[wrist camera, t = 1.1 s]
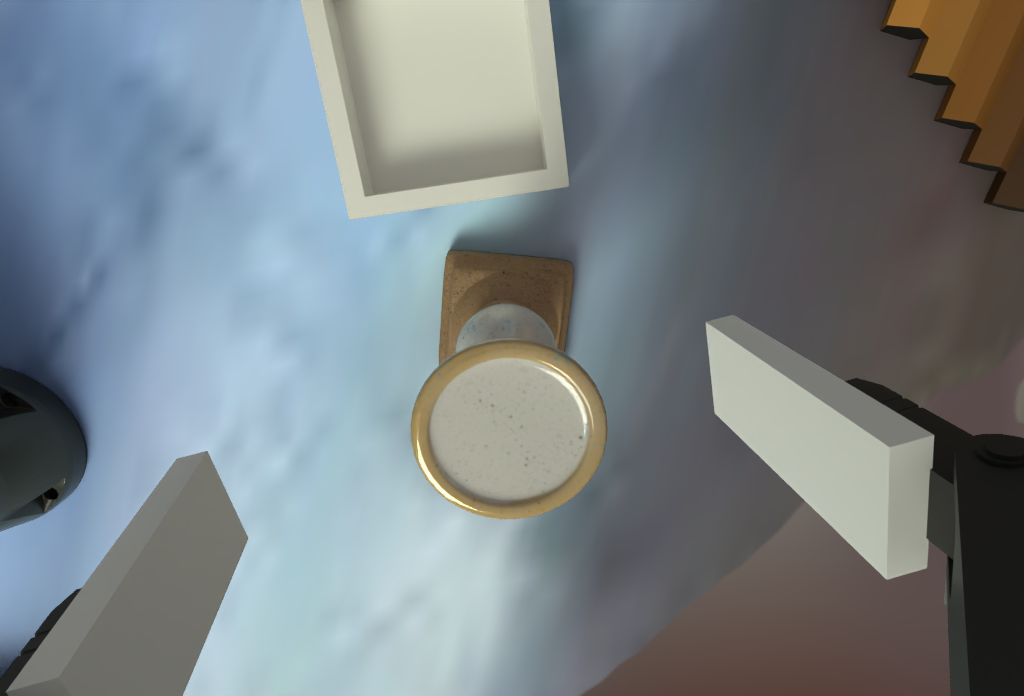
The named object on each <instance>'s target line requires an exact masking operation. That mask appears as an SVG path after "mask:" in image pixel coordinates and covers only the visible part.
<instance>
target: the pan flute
mask: <svg viewBox="0 0 1024 696" xmlns="http://www.w3.org/2000/svg"><path fill="white" fill-rule="evenodd" d="M880 31H882V32H886V33H889V34H892V35H896V36H899V37H902V38H906V39H909V40H912V39H922V38H923V41H922V43H921V46H920V48H919V50H918V53H917V55H916V58H915V60H914V63H913V65H912V68H911V70H910V72H909V75H908V77H910V78H914V79H917V80H921V81H924V82H928V83H931V84H934V85H949V87H948V89H947V92H946V94H945V96H944V99H943V101H942V103H941V106H940V108H939V110H938V113H937V115H936V117H935V119H934V121H937V122H941V123H944V124H948V125H951V126H955V127H958V128H962V129H974V131H973V133H972V135H971V138H970V140H969V142H968V144H967V146H966V149H965V151H964V153H963V155H962V157H961V160H960V162H959V163H963V164H966V165H970V166H973V167H977V168H981V169H984V170H990V171H998V173H997V175H996V177H995V179H994V181H993V183H992V186H991V188H990V190H989V192H988V194H987V196H986V198H985V200H984V202H983V203H986V204H990V205H993V206H997V207H1001V208H1004V209H1008V210H1013V211H1020V212H1024V0H892V2H891V4H890V7H889V10H888V12H887V15H886V17H885V20H884V22H883V25H882V28H881V30H880Z"/></svg>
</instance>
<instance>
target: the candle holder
mask: <svg viewBox="0 0 1024 696" xmlns="http://www.w3.org/2000/svg"><path fill="white" fill-rule="evenodd" d="M573 273H574V269H573V265H572V263H571V262H569V261H566V260H559V259H553V258H543V257H532V256H521V255H510V254H499V253H489V252H478V251H464V250H451V251H449V252H448V254H447V257H446V262H445V270H444V281H443V297H442V313H441V329H440V345H439V366H438V367H437V368H436V369H435V370H434V371H433V372H432V373H431V375H430V376H429V377H428V379H427V380H426V381H425V383H424V384H423V386H422V388H421V390H420V392H419V394H418V396H417V399H416V402H415V405H414V408H413V411H412V419H411V443H412V447H413V452H414V456H415V458H416V461H417V463H418V466H419V468H420V470H421V471H422V473H423V475H424V476H425V478H426V480H427V481H428V482H429V483H430V484H431V485H432V487H433V488H434V489H435V490H436V491H437V492H438V493H439V494H441V495H442V496H443V497H444V498H445V499H446V500H448V501H449V502H451V503H453V504H454V505H456V506H457V507H459V508H461V509H464V510H466V511H468V512H470V513H473V514H477V515H480V516H484V517H489V518H496V519H520V518H528V517H532V516H536V515H540V514H543V513H546V512H548V511H550V510H553V509H555V508H557V507H559V506H561V505H562V504H564V503H565V502H567V501H569V500H570V499H571V498H573V497H574V496H575V495H576V494H577V493H579V492H580V491H581V490H582V489H583V488H584V486H585V485H586V484H587V483H588V482H589V481H590V479H591V478H592V476H593V475H594V473H595V472H596V470H597V469H598V466H599V464H600V462H601V459H602V457H603V454H604V450H605V446H606V442H607V429H608V428H607V418H606V411H605V407H604V404H603V400H602V397H601V395H600V393H599V391H598V389H597V387H596V385H595V383H594V382H593V380H592V379H591V378H590V376H589V375H588V373H587V372H586V371H585V370H584V369H583V368H582V367H581V366H580V365H579V364H578V363H577V362H576V361H575V360H573V359H572V358H571V357H569V356H568V355H566V354H565V353H564V350H565V342H566V334H567V327H568V319H569V311H570V303H571V296H572V288H573Z"/></svg>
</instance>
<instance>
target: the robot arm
mask: <svg viewBox="0 0 1024 696" xmlns="http://www.w3.org/2000/svg"><path fill="white" fill-rule="evenodd" d="M706 331H707V341H708V351H709V361H710V370H711V380H712V390H713V400H714V410H715V414H716V415H717V416H718V417H719V418H720V419H721V420H722V421H723V422H725V423H726V424H727V425H728V426H729V427H730V428H731V429H732V430H733V431H734V432H735V433H736V434H737V435H738V436H739V437H740V438H741V439H742V440H743V441H744V442H745V443H746V444H747V445H748V446H749V447H750V448H751V449H752V450H753V451H754V452H755V453H757V454H758V455H759V456H760V457H761V458H762V459H763V460H764V461H765V462H766V463H767V464H768V465H769V466H770V467H771V468H772V469H773V470H774V471H775V472H776V473H777V474H778V475H779V476H780V477H781V478H782V479H783V480H784V481H785V482H786V483H787V484H788V485H790V486H791V487H792V488H793V489H794V490H795V491H796V492H797V493H798V494H799V495H800V496H801V497H802V498H803V499H804V500H805V501H806V502H807V503H808V504H809V505H810V506H811V507H812V508H813V509H814V510H815V511H816V512H818V513H819V515H820V516H822V517H823V518H824V519H825V520H826V521H827V522H828V523H829V524H830V525H831V526H832V527H833V528H834V529H835V530H836V531H837V532H838V533H839V534H840V535H841V536H842V537H843V538H844V539H845V540H846V541H847V542H848V543H850V545H851V546H853V547H854V548H855V549H856V550H857V551H858V552H859V553H860V554H861V555H862V556H863V557H864V558H865V559H866V560H867V561H868V562H869V563H870V564H871V565H872V566H873V567H874V568H875V569H876V570H877V571H878V572H879V573H881V574H882V576H883V577H885V578H886V579H891V578H894V577H898V576H901V575H905V574H908V573H911V572H915V571H918V570H921V569H925V568H927V557H928V541H930V542H932V543H933V544H934V545H935V546H937V547H938V548H939V549H940V550H942V551H943V552H944V553H945V554H947V567H946V581H945V596H944V604H945V605H947V607H948V636H949V637H948V638H949V664H950V665H949V666H950V695H951V696H1024V438H1021V437H1015V436H1009V435H1003V434H981V435H976V436H972V435H971V434H969V433H967V432H965V431H964V430H962V429H960V428H958V427H956V426H955V425H953V424H951V423H949V422H948V421H946V420H944V419H942V418H940V417H939V416H937V415H935V414H933V413H931V412H930V411H928V410H926V409H924V408H919V407H918V405H917V404H915V403H913V402H912V401H910V400H908V399H906V398H905V399H903V398H902V396H901V395H899V394H897V393H896V392H894V391H892V390H890V389H888V388H887V387H885V386H883V385H880V384H876V383H873V382H869V381H865V380H862V379H858V378H855V379H851V380H848V381H843V380H841V379H840V378H838V377H836V376H835V375H833V374H831V373H830V372H828V371H826V370H825V369H823V368H821V367H820V366H818V365H816V364H815V363H813V362H811V361H810V360H808V359H806V358H805V357H803V356H801V355H800V354H798V353H796V352H795V351H793V350H791V349H789V348H788V347H786V346H784V345H783V344H781V343H779V342H778V341H776V340H774V339H773V338H771V337H769V336H768V335H766V334H764V333H763V332H761V331H759V330H758V329H756V328H754V327H753V326H751V325H749V324H748V323H746V322H744V321H743V320H741V319H739V318H738V317H736V316H734V315H731V316H727V317H723V318H719V319H715V320H711V321H708V322H706ZM85 464H86V448H85V443H84V439H83V435H82V433H81V430H80V428H79V426H78V424H77V422H76V420H75V418H74V417H73V415H72V414H71V412H70V411H69V410H68V408H67V407H66V406H65V405H64V404H63V403H62V401H61V400H60V399H59V398H58V397H56V396H55V395H54V394H53V393H52V392H51V391H49V390H48V389H47V388H45V387H44V386H43V385H41V384H40V383H38V382H36V381H34V380H33V379H31V378H29V377H27V376H25V375H22V374H20V373H17V372H15V371H11V370H8V369H4V368H0V531H3V530H6V529H9V528H12V527H14V526H17V525H20V524H23V523H26V522H29V521H31V520H34V519H36V518H38V517H40V516H42V515H44V514H46V513H47V512H49V511H51V510H52V509H53V508H54V507H56V506H57V505H58V504H59V503H61V502H62V501H63V500H65V499H66V498H67V497H68V496H69V495H70V494H71V493H72V492H73V491H74V490H75V489H76V487H77V486H78V484H79V483H80V481H81V479H82V476H83V473H84V470H85ZM247 540H248V536H247V534H246V532H245V530H244V528H243V526H242V524H241V522H240V519H239V517H238V515H237V513H236V511H235V509H234V507H233V505H232V502H231V500H230V498H229V496H228V494H227V492H226V490H225V488H224V485H223V483H222V481H221V479H220V477H219V475H218V473H217V471H216V468H215V466H214V464H213V462H212V460H211V458H210V456H209V454H208V451H205V452H202V453H198V454H194V455H190V456H186V457H182V458H178V459H176V461H175V462H174V463H173V465H172V466H171V467H170V469H169V470H168V471H167V473H166V474H165V476H164V477H163V478H162V480H161V481H160V482H159V484H158V485H157V486H156V488H155V489H154V491H153V492H152V493H151V495H150V496H149V497H148V499H147V500H146V501H145V503H144V504H143V506H142V507H141V508H140V510H139V511H138V512H137V514H136V515H135V516H134V518H133V519H132V521H131V522H130V523H129V525H128V526H127V527H126V529H125V530H124V531H123V533H122V534H121V536H120V537H119V538H118V540H117V541H116V542H115V544H114V545H113V546H112V548H111V549H110V551H109V552H108V553H107V555H106V556H105V557H104V559H103V560H102V561H101V563H100V564H99V566H98V567H97V568H96V570H95V571H94V572H93V574H92V575H91V576H90V578H89V579H88V581H87V582H86V583H85V585H84V586H83V587H82V588H80V589H77V590H75V591H74V592H73V593H72V594H71V595H70V596H69V597H68V598H66V599H65V600H64V601H63V602H62V603H61V604H60V605H58V606H57V607H56V608H55V609H54V610H53V611H52V612H51V613H50V614H49V616H48V617H47V618H46V620H45V621H44V622H43V624H42V625H41V626H40V627H39V629H38V630H37V631H36V633H35V637H34V638H31V639H30V641H29V642H28V643H27V645H26V646H25V647H24V648H23V650H22V651H21V656H19V657H17V658H16V659H15V660H14V662H13V663H12V664H11V666H10V667H9V668H8V669H7V671H6V672H5V673H4V675H3V676H2V677H1V679H0V696H183V693H184V691H185V689H186V686H187V684H188V681H189V679H190V677H191V674H192V672H193V670H194V667H195V665H196V662H197V660H198V658H199V655H200V653H201V650H202V648H203V646H204V643H205V641H206V638H207V636H208V634H209V631H210V629H211V626H212V624H213V622H214V619H215V617H216V614H217V612H218V610H219V607H220V605H221V603H222V600H223V598H224V595H225V593H226V591H227V588H228V586H229V583H230V581H231V579H232V576H233V574H234V571H235V569H236V567H237V564H238V562H239V559H240V557H241V555H242V552H243V550H244V547H245V545H246V543H247Z"/></svg>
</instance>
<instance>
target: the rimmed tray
mask: <svg viewBox="0 0 1024 696" xmlns="http://www.w3.org/2000/svg"><path fill="white" fill-rule="evenodd" d="M301 5H302V9H303V14H304V18H305V23H306V27H307V32H308V36H309V40H310V45H311V49H312V54H313V58H314V63H315V67H316V72H317V76H318V80H319V85H320V89H321V94H322V98H323V103H324V107H325V112H326V116H327V121H328V125H329V129H330V134H331V138H332V143H333V147H334V152H335V156H336V161H337V165H338V170H339V174H340V178H341V183H342V187H343V192H344V196H345V201H346V205H347V210H348V214H349V218H350V220H351V219H358V218H364V217H371V216H378V215H384V214H391V213H398V212H404V211H411V210H418V209H424V208H431V207H438V206H444V205H451V204H458V203H464V202H471V201H478V200H484V199H491V198H498V197H504V196H511V195H518V194H524V193H531V192H538V191H544V190H551V189H558V188H564V187H569V178H568V169H567V160H566V151H565V142H564V133H563V124H562V115H561V106H560V97H559V87H558V78H557V69H556V60H555V51H554V42H553V33H552V24H551V15H550V6H549V0H301Z"/></svg>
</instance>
